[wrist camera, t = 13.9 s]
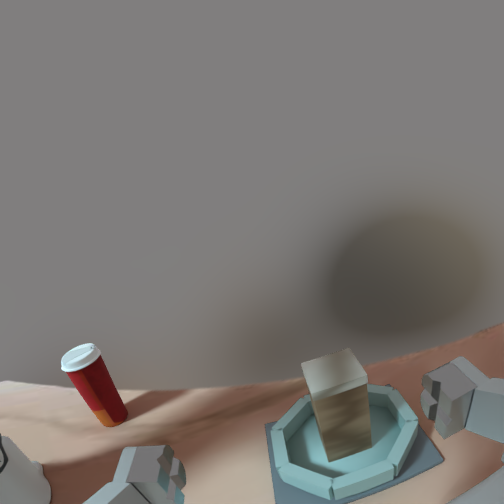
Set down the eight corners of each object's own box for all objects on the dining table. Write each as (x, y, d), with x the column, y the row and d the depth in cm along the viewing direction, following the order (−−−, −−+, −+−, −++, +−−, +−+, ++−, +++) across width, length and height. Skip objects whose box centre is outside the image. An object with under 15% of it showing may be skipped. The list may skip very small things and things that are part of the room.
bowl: (288, 516, 22) (281, 503, 21) (272, 422, 37) (266, 405, 37) (434, 463, 22) (438, 446, 21) (382, 387, 37) (381, 368, 37)
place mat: (278, 520, 22) (277, 519, 22) (265, 426, 38) (265, 424, 38) (443, 461, 22) (443, 459, 22) (389, 385, 38) (389, 383, 37)
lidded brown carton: (328, 463, 27) (311, 393, 25) (318, 433, 32) (300, 363, 30) (373, 447, 27) (367, 374, 25) (358, 419, 32) (349, 347, 30)
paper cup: (130, 400, 51) (97, 337, 48) (136, 421, 44) (97, 353, 41) (95, 413, 48) (60, 352, 45) (97, 436, 41) (55, 369, 38)
